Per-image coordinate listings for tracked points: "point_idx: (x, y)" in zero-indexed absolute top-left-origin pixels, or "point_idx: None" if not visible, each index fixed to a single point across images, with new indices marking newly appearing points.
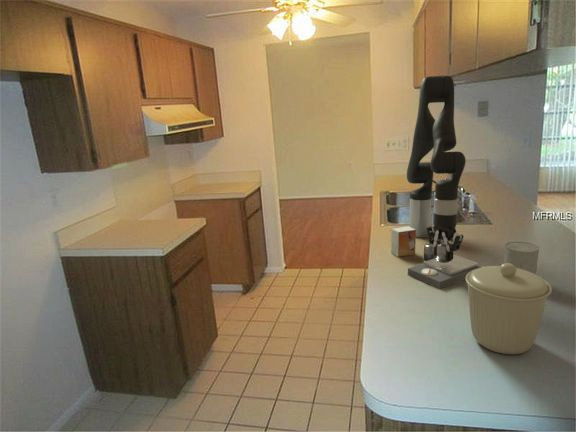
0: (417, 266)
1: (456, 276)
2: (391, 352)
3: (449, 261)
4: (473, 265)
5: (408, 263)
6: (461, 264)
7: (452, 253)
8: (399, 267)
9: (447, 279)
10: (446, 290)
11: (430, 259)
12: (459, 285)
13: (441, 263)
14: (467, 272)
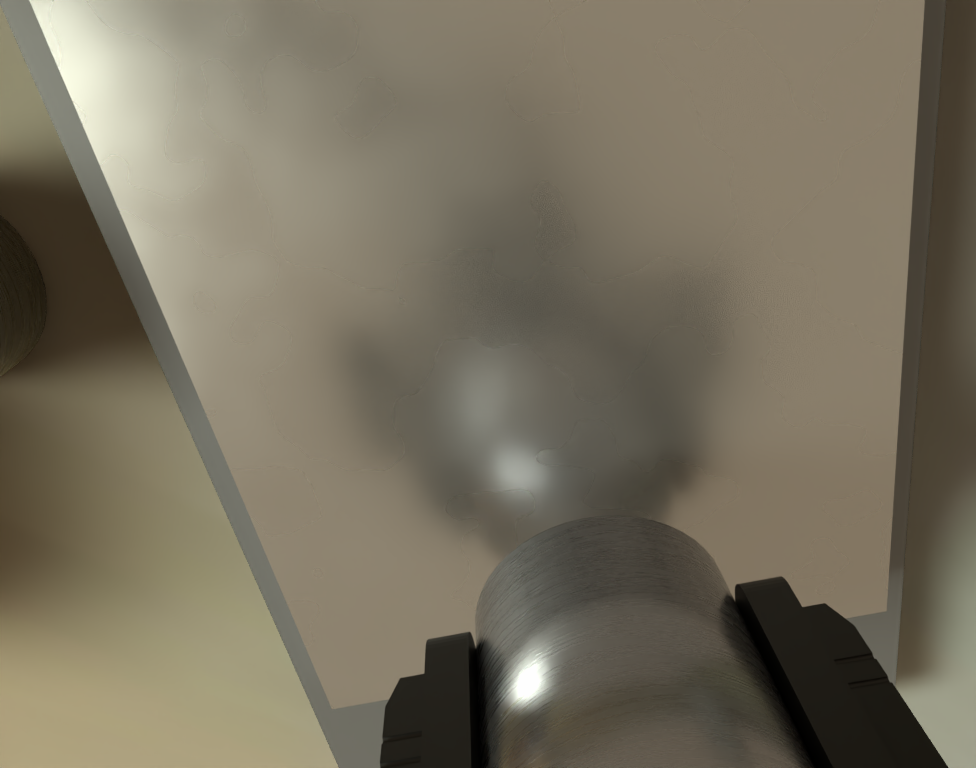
0: (361, 743)
1: (901, 506)
2: None
3: (716, 564)
4: (917, 26)
5: (31, 616)
6: (743, 250)
7: (916, 753)
8: (144, 746)
9: (893, 652)
10: (919, 647)
11: (17, 351)
12: (934, 467)
13: (514, 531)
14: (921, 270)
